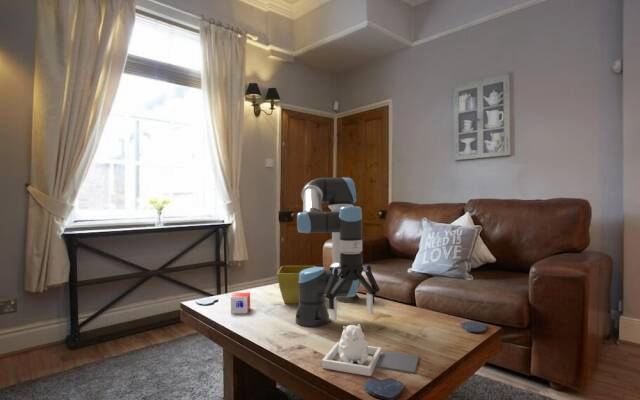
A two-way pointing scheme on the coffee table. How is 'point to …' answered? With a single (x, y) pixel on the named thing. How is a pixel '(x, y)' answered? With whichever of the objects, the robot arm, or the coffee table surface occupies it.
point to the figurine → (353, 345)
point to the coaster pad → (398, 362)
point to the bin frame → (350, 367)
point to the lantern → (349, 298)
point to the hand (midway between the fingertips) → (352, 315)
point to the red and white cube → (240, 303)
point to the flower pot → (290, 282)
